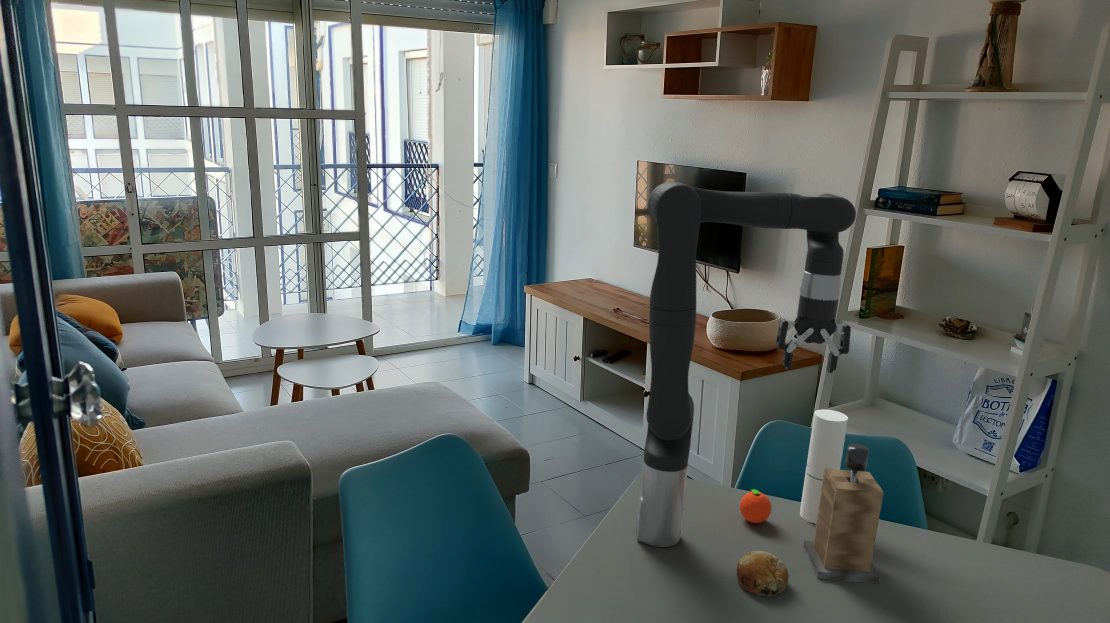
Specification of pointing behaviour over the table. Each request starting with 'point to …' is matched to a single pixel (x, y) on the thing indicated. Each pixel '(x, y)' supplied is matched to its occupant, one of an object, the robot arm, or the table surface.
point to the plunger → (856, 459)
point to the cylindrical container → (822, 457)
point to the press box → (846, 527)
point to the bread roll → (762, 573)
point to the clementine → (755, 506)
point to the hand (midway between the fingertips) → (808, 370)
